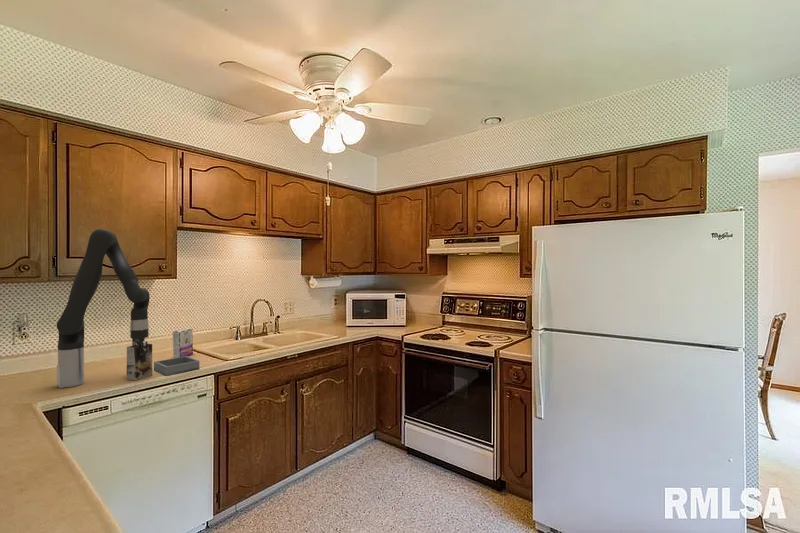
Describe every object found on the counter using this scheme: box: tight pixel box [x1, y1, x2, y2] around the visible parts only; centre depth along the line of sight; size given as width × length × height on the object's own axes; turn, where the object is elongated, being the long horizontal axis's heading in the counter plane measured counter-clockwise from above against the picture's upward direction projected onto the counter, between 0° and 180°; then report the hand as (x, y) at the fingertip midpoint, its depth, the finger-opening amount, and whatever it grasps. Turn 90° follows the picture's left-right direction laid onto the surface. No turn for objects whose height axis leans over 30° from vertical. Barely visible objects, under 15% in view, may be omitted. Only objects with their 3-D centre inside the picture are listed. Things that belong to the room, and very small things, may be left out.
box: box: [153, 356, 200, 377], centre depth 201 cm, size 16×17×4 cm
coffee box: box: [126, 343, 153, 381], centre depth 187 cm, size 9×6×16 cm
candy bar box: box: [172, 327, 194, 358], centre depth 229 cm, size 11×5×16 cm, turn 171°
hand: (140, 360), depth 187 cm, fingers closed on coffee box, 8 cm apart
